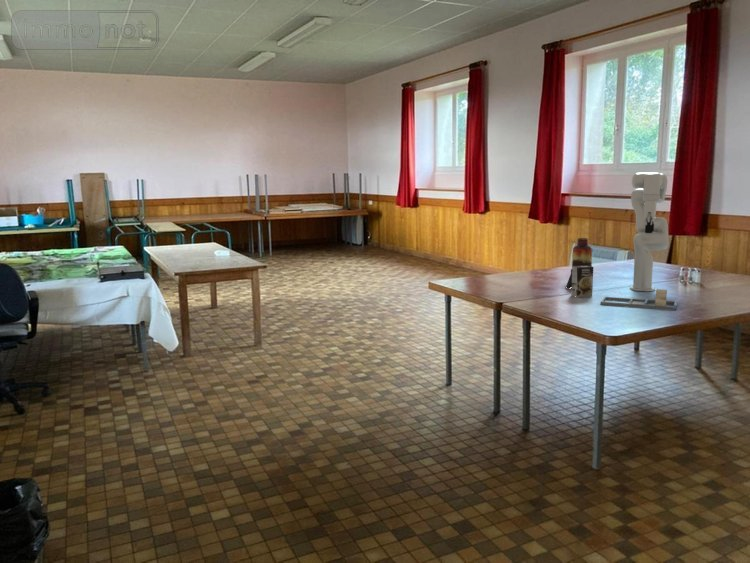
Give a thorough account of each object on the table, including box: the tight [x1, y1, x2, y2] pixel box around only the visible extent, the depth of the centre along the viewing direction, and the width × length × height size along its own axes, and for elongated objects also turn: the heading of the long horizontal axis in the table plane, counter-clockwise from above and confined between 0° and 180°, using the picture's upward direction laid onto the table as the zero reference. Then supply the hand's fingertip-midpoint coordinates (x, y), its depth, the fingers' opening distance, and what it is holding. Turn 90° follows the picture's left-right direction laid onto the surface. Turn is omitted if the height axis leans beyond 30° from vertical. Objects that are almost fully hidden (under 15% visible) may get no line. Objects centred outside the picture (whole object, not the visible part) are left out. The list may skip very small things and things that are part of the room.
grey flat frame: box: [599, 296, 678, 311], centre depth 302 cm, size 14×34×2 cm, turn 62°
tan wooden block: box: [654, 288, 668, 306], centre depth 297 cm, size 4×4×8 cm
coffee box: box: [570, 265, 594, 298], centre depth 325 cm, size 9×6×16 cm
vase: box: [571, 237, 593, 267], centre depth 366 cm, size 11×11×26 cm
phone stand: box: [565, 268, 572, 288], centre depth 346 cm, size 9×6×12 cm, turn 44°
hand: (649, 232), depth 310 cm, fingers open, 9 cm apart
